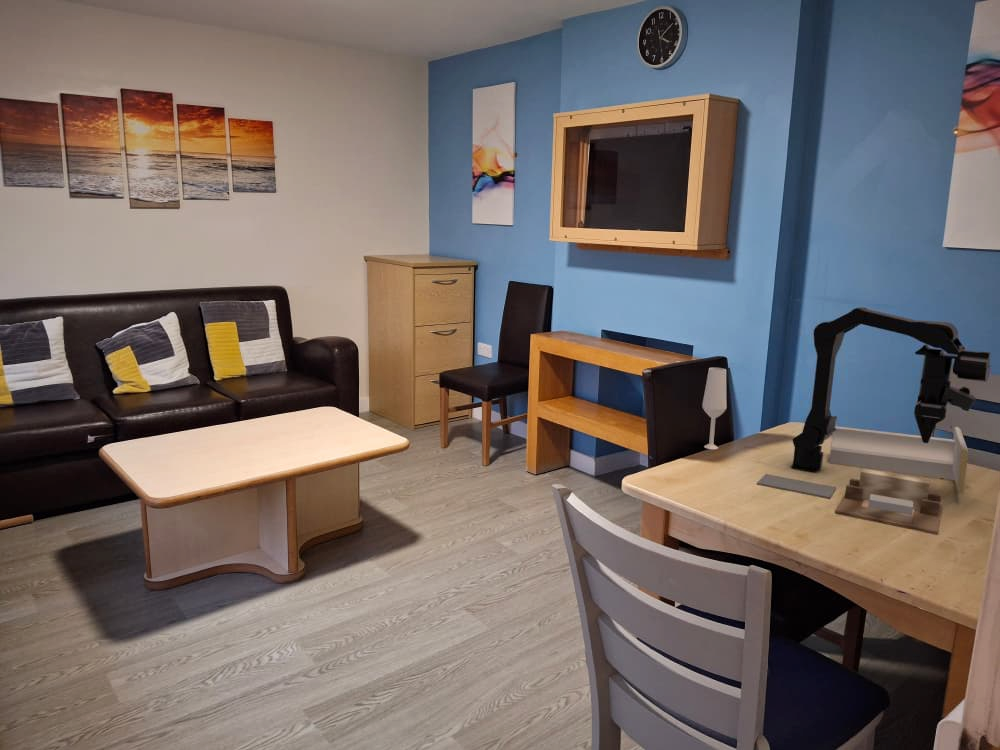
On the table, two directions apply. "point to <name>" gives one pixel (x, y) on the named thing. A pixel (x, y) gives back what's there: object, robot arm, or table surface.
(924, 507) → the offcut rack
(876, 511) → the offcut lower
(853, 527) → the table surface
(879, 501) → the offcut upper
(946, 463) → the crown molding
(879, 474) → the plywood sheet
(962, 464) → the baseboard
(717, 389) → the champagne flute
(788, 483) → the slate mat
